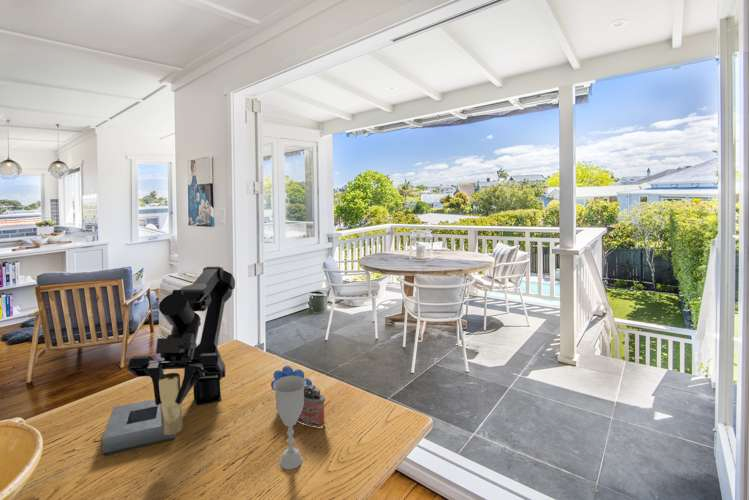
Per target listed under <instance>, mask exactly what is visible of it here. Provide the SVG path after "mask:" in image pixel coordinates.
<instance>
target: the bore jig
mask: <svg viewBox="0 0 749 500" xmlns="http://www.w3.org/2000/svg"><path fill="white" fill-rule="evenodd" d="M175 439H176V433H175V434H172V435H165V434H163V433H162V425H161V409H160V404H159V405H156V404H155V398H154V399H150V400H144V401H139V402H133V403H127V404H122V405H118V406H113V407H112V410H111V413H110V415H109V419H108V421H107V424H106V427H105V430H104V432H103V436H102V438H101V443H102V454H103V456H107V455H113V454H116V453H117V454H118V453H121V452H125V451H129V450H133V449H138V448H141V447H147V446H151V445H155V444H159V443H163V442H168V441H171V440H175Z"/></svg>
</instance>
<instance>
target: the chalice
mask: <svg viewBox="0 0 749 500" xmlns="http://www.w3.org/2000/svg"><path fill="white" fill-rule="evenodd" d="M304 378H305V377H304ZM304 378H302V377H299V376H286V377H282V378H280V379H278V380H277V381H275V383H274V385H273V387H274V389H275V390H276V391H275V406H276V407H275V408H276V412H277V413H278V415H279V417H280V419H281V422H282V423H283V425H284V426H286V427H287V431H286V435H287V436H288V438H287V439H286V443H287V444H288V447H287V448H285V449H284V451H283V452H282V454H281V457H280V458H279V459H280V460H279V461H278V465H279V467H280V468H282V469H284V470H293V469H296V468H298V467H299V465H301V464H302V463H303V461H302V459H303V457H302V454H301V452H300V450H299V449H298V448H296V447H294V446H293V445H294V442H295V441H296V440H295V438H294V434H295V431H294V425H297V423H298V422H297V421H298V418H299V416H300V414H301V412H302V409H303V406H304V386H305V384H306V380H305V379H304ZM301 462H302V463H301Z"/></svg>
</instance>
